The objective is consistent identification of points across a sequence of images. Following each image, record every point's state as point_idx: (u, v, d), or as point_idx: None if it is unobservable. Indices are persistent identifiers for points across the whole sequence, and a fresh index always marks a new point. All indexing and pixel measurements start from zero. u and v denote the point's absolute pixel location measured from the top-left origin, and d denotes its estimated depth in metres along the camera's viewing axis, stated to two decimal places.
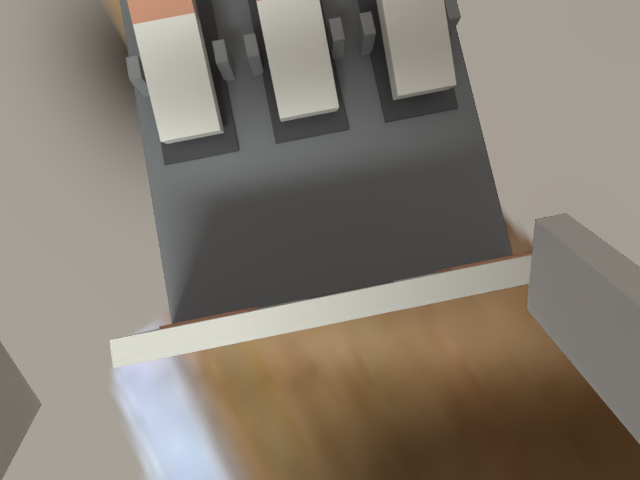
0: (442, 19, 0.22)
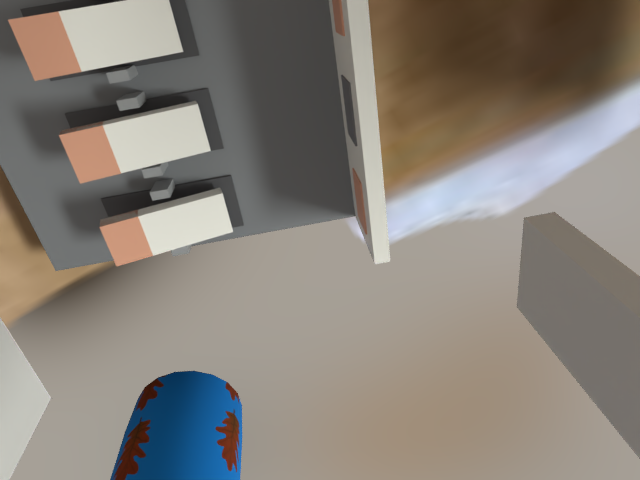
0: (107, 7, 0.24)
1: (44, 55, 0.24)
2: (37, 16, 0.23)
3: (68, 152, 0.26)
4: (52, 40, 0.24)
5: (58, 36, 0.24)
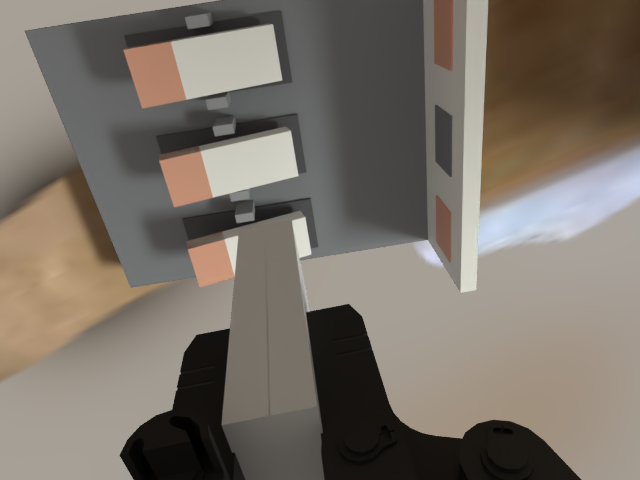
0: (216, 38, 0.25)
1: (153, 84, 0.24)
2: (151, 46, 0.24)
3: (166, 177, 0.27)
4: (162, 69, 0.24)
5: (168, 65, 0.24)
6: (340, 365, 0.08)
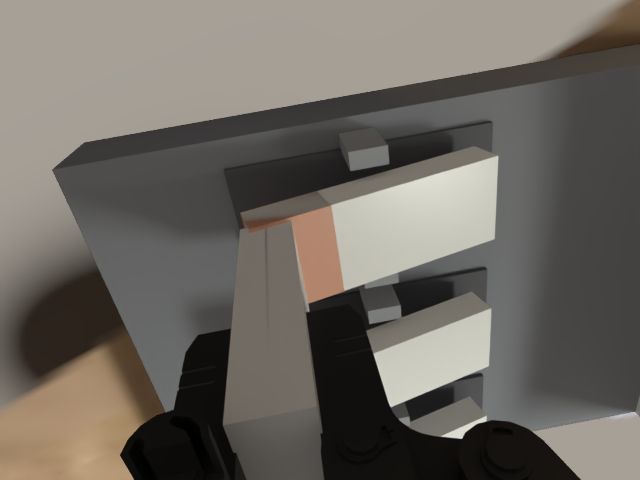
0: (406, 188, 0.13)
1: None
2: (297, 218, 0.13)
3: None
4: (312, 251, 0.13)
5: (322, 244, 0.13)
6: (340, 365, 0.08)
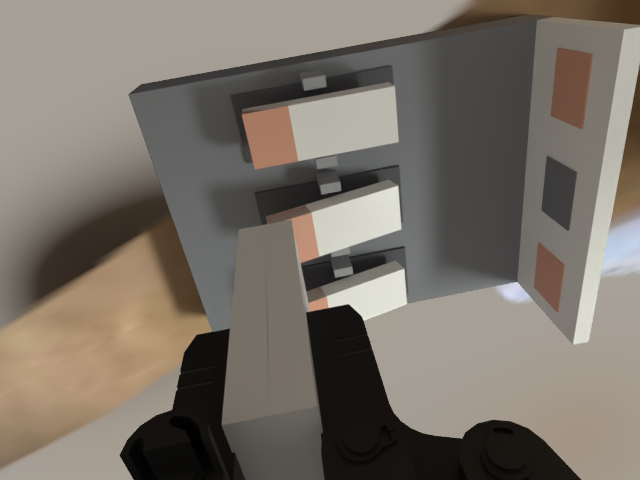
0: (334, 101, 0.23)
1: (267, 146, 0.24)
2: (268, 111, 0.23)
3: None
4: (277, 132, 0.24)
5: (283, 129, 0.24)
6: (340, 365, 0.08)
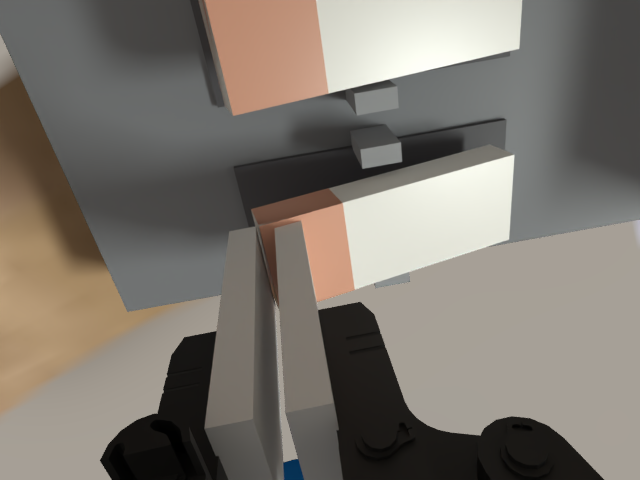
0: None
1: None
2: None
3: (215, 24, 0.10)
4: None
5: None
6: (354, 362, 0.08)
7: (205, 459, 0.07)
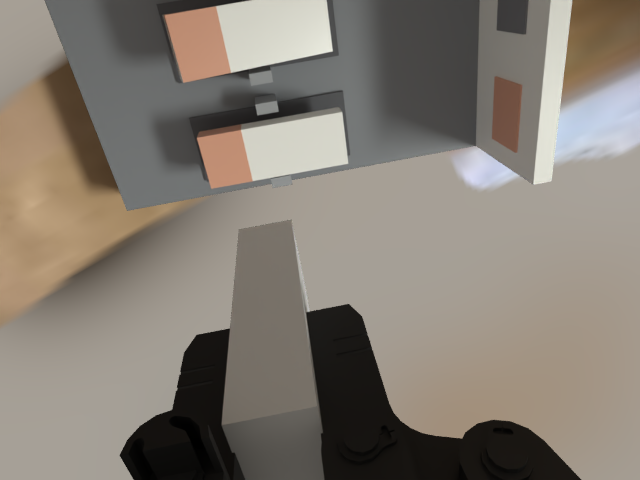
0: None
1: None
2: None
3: (173, 39, 0.21)
4: None
5: None
6: (340, 365, 0.08)
7: (221, 456, 0.07)
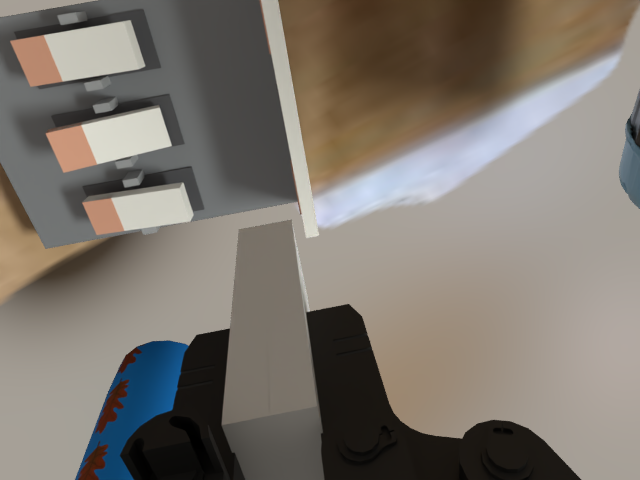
0: (79, 32, 0.30)
1: (36, 68, 0.31)
2: (29, 38, 0.30)
3: (53, 147, 0.33)
4: (41, 57, 0.31)
5: (44, 54, 0.31)
6: (340, 365, 0.08)
7: (221, 455, 0.07)
